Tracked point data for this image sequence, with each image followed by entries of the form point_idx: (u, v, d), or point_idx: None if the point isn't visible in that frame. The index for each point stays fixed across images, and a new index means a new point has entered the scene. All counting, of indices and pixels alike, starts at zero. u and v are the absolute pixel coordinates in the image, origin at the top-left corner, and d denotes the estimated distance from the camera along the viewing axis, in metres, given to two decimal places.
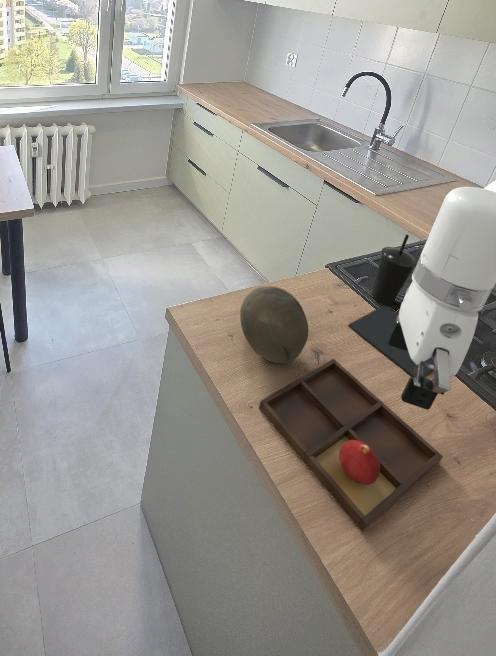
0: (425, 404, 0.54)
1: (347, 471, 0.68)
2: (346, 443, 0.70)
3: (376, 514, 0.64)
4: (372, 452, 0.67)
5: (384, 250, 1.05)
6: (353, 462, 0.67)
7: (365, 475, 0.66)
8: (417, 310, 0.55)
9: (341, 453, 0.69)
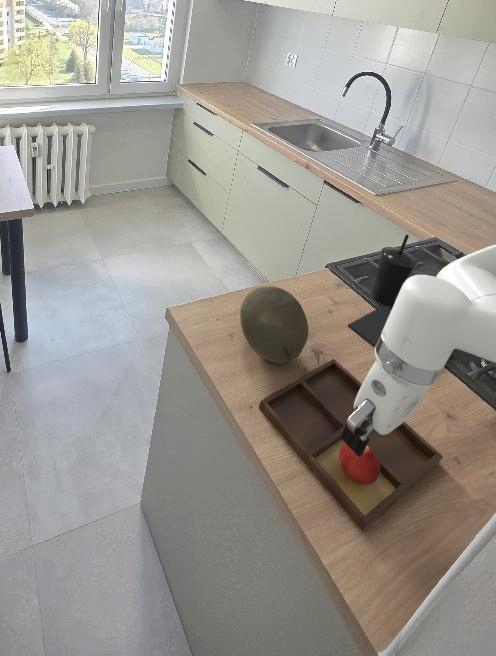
0: (353, 447, 0.62)
1: (347, 471, 0.68)
2: None
3: (376, 514, 0.64)
4: (372, 452, 0.67)
5: (384, 250, 1.05)
6: (353, 462, 0.67)
7: (365, 475, 0.66)
8: None
9: (341, 453, 0.69)
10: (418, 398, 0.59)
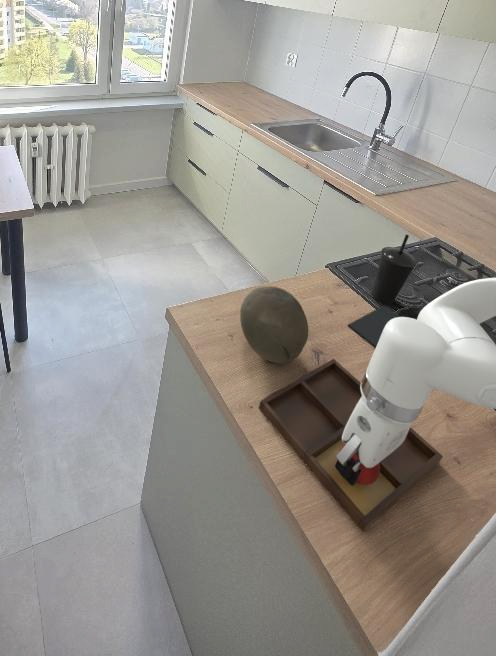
0: (346, 477, 0.66)
1: None
2: None
3: (376, 514, 0.64)
4: None
5: (384, 250, 1.05)
6: None
7: (365, 475, 0.66)
8: None
9: None
10: (402, 432, 0.63)
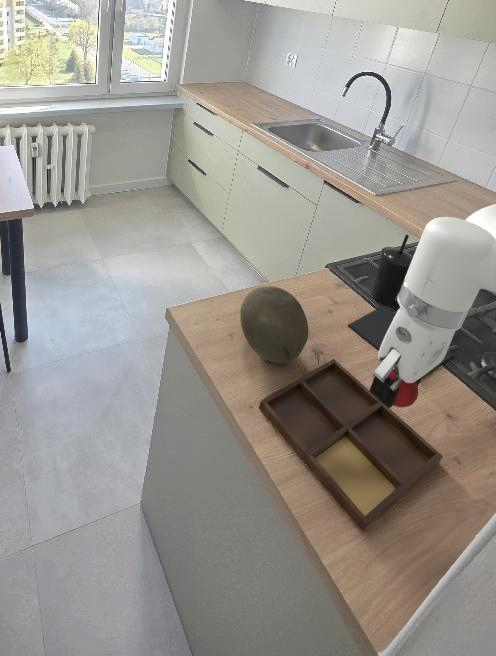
0: (383, 398, 0.62)
1: None
2: None
3: (376, 514, 0.64)
4: None
5: (384, 250, 1.05)
6: None
7: (403, 396, 0.62)
8: None
9: None
10: (444, 345, 0.58)
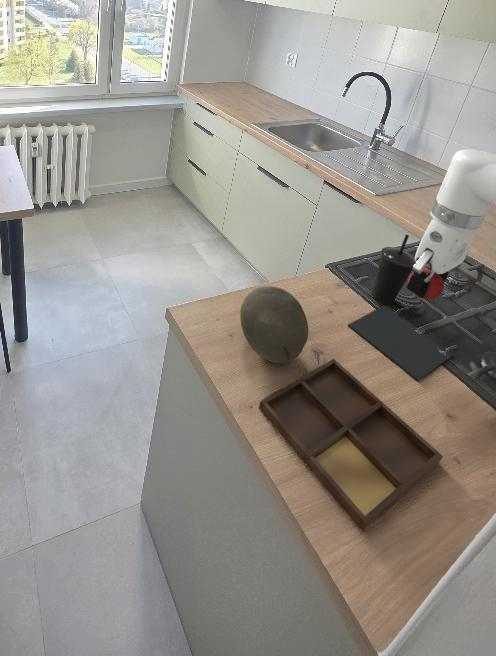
0: (418, 290, 0.83)
1: None
2: None
3: (376, 514, 0.64)
4: None
5: (384, 250, 1.05)
6: None
7: (432, 288, 0.82)
8: None
9: None
10: (465, 246, 0.79)
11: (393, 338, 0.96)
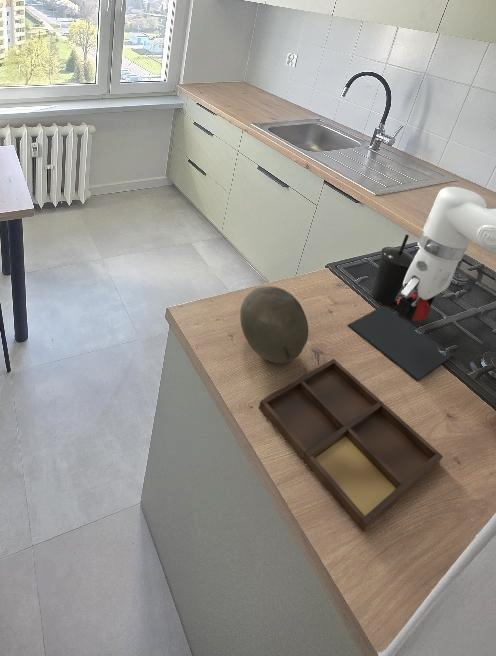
0: (405, 313, 0.90)
1: None
2: None
3: (376, 514, 0.64)
4: None
5: (384, 250, 1.05)
6: None
7: (419, 311, 0.90)
8: None
9: None
10: (449, 274, 0.86)
11: (393, 338, 0.96)
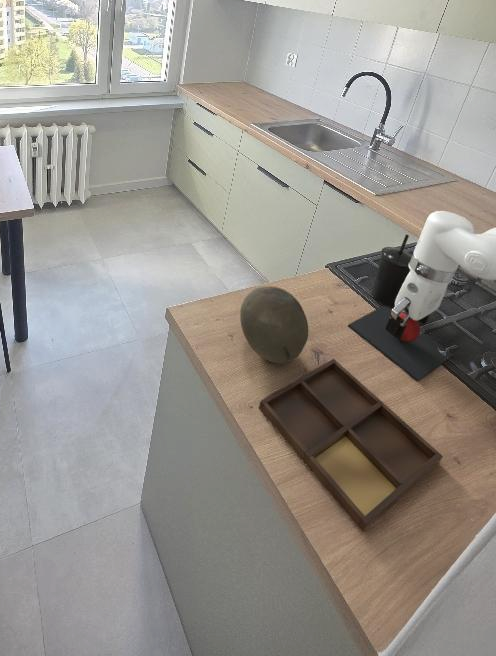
0: (395, 332, 0.91)
1: None
2: None
3: (376, 514, 0.64)
4: None
5: (384, 250, 1.05)
6: None
7: (410, 332, 0.92)
8: None
9: None
10: (439, 296, 0.89)
11: (393, 338, 0.96)
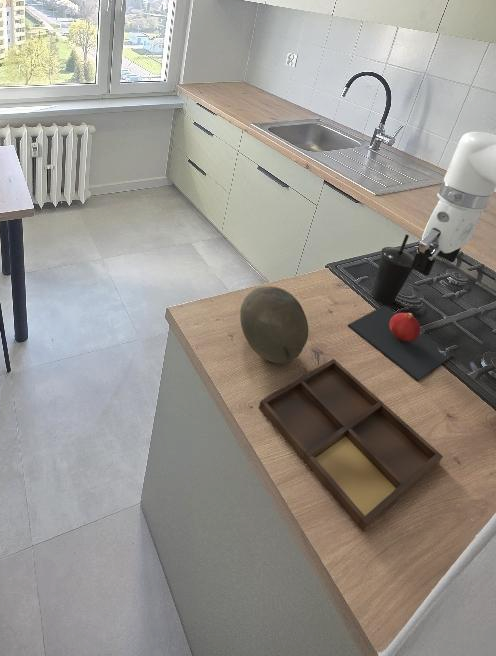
0: (422, 268, 0.84)
1: (396, 332, 0.94)
2: (394, 315, 0.96)
3: (376, 514, 0.64)
4: (414, 318, 0.93)
5: (384, 250, 1.05)
6: (401, 325, 0.93)
7: (410, 332, 0.92)
8: None
9: (391, 321, 0.95)
10: (471, 226, 0.81)
11: (393, 338, 0.96)
